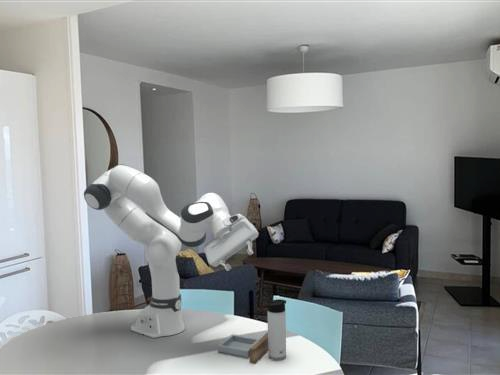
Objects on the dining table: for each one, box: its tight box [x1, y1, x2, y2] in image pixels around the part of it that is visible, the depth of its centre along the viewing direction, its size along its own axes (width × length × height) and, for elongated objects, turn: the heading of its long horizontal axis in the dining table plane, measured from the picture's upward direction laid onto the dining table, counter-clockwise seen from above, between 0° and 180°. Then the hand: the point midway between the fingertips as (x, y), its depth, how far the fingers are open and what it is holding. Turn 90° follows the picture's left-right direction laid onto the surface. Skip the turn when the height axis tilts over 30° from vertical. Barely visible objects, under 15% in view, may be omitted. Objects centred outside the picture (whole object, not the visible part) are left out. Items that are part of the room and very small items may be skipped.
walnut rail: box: [249, 331, 268, 365], centre depth 158 cm, size 2×18×5 cm, turn 154°
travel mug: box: [266, 299, 287, 361], centre depth 154 cm, size 6×7×20 cm
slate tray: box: [217, 333, 260, 359], centre depth 161 cm, size 12×11×3 cm
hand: (239, 261), depth 149 cm, fingers open, 8 cm apart
